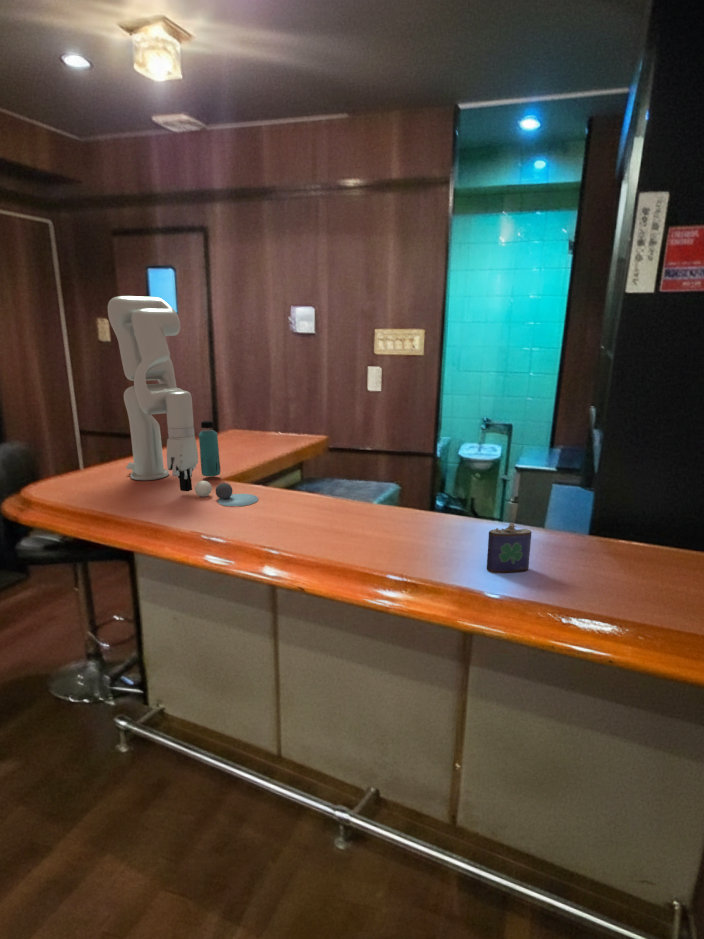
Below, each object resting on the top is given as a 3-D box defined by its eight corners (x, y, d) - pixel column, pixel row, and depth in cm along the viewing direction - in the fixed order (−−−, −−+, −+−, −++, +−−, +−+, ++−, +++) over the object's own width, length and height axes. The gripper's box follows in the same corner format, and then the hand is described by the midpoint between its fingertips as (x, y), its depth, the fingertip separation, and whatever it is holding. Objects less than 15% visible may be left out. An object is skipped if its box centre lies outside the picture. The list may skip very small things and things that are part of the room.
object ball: (209, 490, 161) (220, 482, 159) (218, 486, 165) (229, 477, 163) (218, 504, 161) (230, 496, 159) (227, 499, 165) (238, 491, 163)
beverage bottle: (218, 480, 182) (214, 422, 177) (198, 480, 182) (194, 422, 177) (223, 475, 188) (219, 419, 183) (204, 475, 188) (200, 419, 183)
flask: (525, 566, 117) (529, 520, 114) (531, 572, 114) (535, 525, 111) (484, 568, 116) (487, 521, 113) (489, 574, 113) (492, 526, 111)
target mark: (209, 504, 157) (209, 503, 157) (230, 492, 169) (230, 492, 168) (246, 508, 154) (246, 507, 154) (265, 496, 165) (265, 495, 165)
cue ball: (194, 479, 162) (208, 486, 161) (203, 476, 166) (216, 483, 166) (189, 494, 163) (203, 501, 162) (198, 490, 168) (211, 497, 167)
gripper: (185, 427, 169) (189, 482, 174) (154, 436, 156) (160, 496, 160) (205, 428, 167) (209, 484, 172) (177, 437, 153) (182, 498, 158)
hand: (186, 490), depth 166 cm, fingers closed
